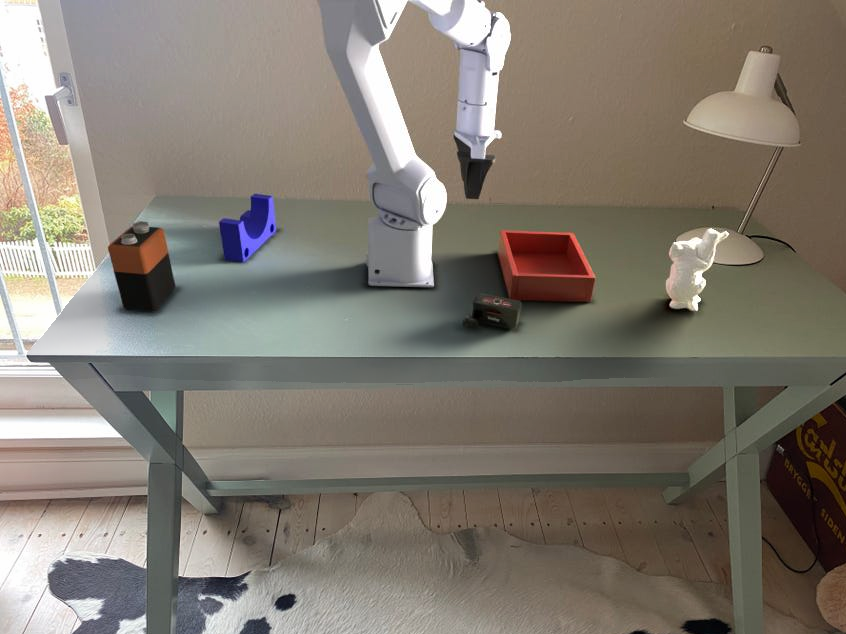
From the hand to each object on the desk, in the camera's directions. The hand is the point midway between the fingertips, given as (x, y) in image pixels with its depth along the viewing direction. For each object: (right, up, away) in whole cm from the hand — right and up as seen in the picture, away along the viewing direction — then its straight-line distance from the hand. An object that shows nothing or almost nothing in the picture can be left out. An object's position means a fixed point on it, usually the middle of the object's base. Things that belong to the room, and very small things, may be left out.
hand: (470, 189), depth 105 cm
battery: (-43, -19, -17) cm, 50 cm away
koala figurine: (+32, -19, -6) cm, 38 cm away
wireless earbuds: (+3, -22, -15) cm, 27 cm away
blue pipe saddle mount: (-35, -9, -1) cm, 36 cm away
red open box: (+11, -14, -2) cm, 18 cm away
